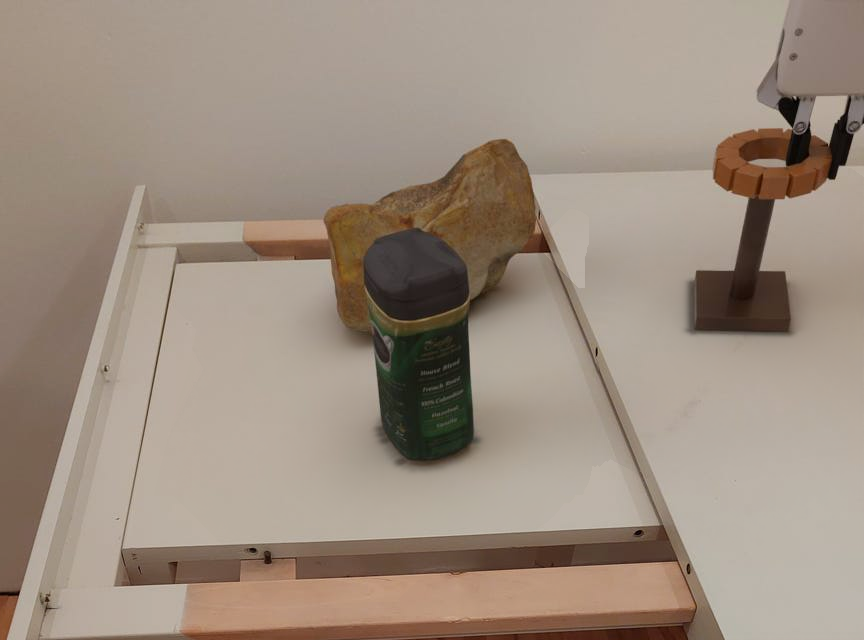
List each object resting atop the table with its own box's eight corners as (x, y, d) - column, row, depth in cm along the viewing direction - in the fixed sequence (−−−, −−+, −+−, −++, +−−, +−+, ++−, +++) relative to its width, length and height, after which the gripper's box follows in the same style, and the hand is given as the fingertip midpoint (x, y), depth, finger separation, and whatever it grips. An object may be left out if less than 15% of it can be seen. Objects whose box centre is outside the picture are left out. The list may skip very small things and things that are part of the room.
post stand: (782, 284, 99) (814, 152, 88) (787, 332, 93) (822, 198, 83) (694, 282, 101) (715, 154, 90) (694, 329, 95) (717, 198, 85)
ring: (821, 149, 89) (827, 127, 87) (831, 199, 83) (837, 176, 81) (711, 150, 91) (715, 129, 89) (713, 199, 85) (717, 177, 83)
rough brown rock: (483, 238, 113) (471, 104, 102) (553, 288, 102) (548, 143, 91) (307, 302, 109) (275, 169, 98) (359, 361, 98) (330, 219, 87)
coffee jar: (487, 449, 87) (483, 260, 72) (408, 475, 85) (388, 288, 71) (446, 394, 93) (435, 210, 78) (372, 417, 91) (347, 235, 77)
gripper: (979, -91, 72) (901, 154, 86) (761, -78, 76) (720, 156, 90) (998, -61, 68) (912, 192, 82) (765, -49, 71) (722, 193, 85)
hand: (812, 171), depth 86 cm, fingers closed on ring, 2 cm apart
